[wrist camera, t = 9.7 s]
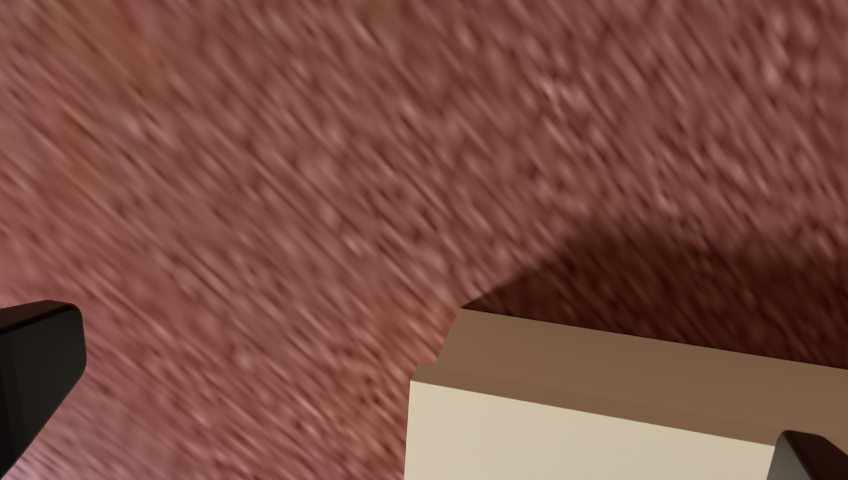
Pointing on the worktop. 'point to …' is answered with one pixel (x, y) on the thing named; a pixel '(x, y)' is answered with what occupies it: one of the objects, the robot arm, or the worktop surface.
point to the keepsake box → (607, 406)
